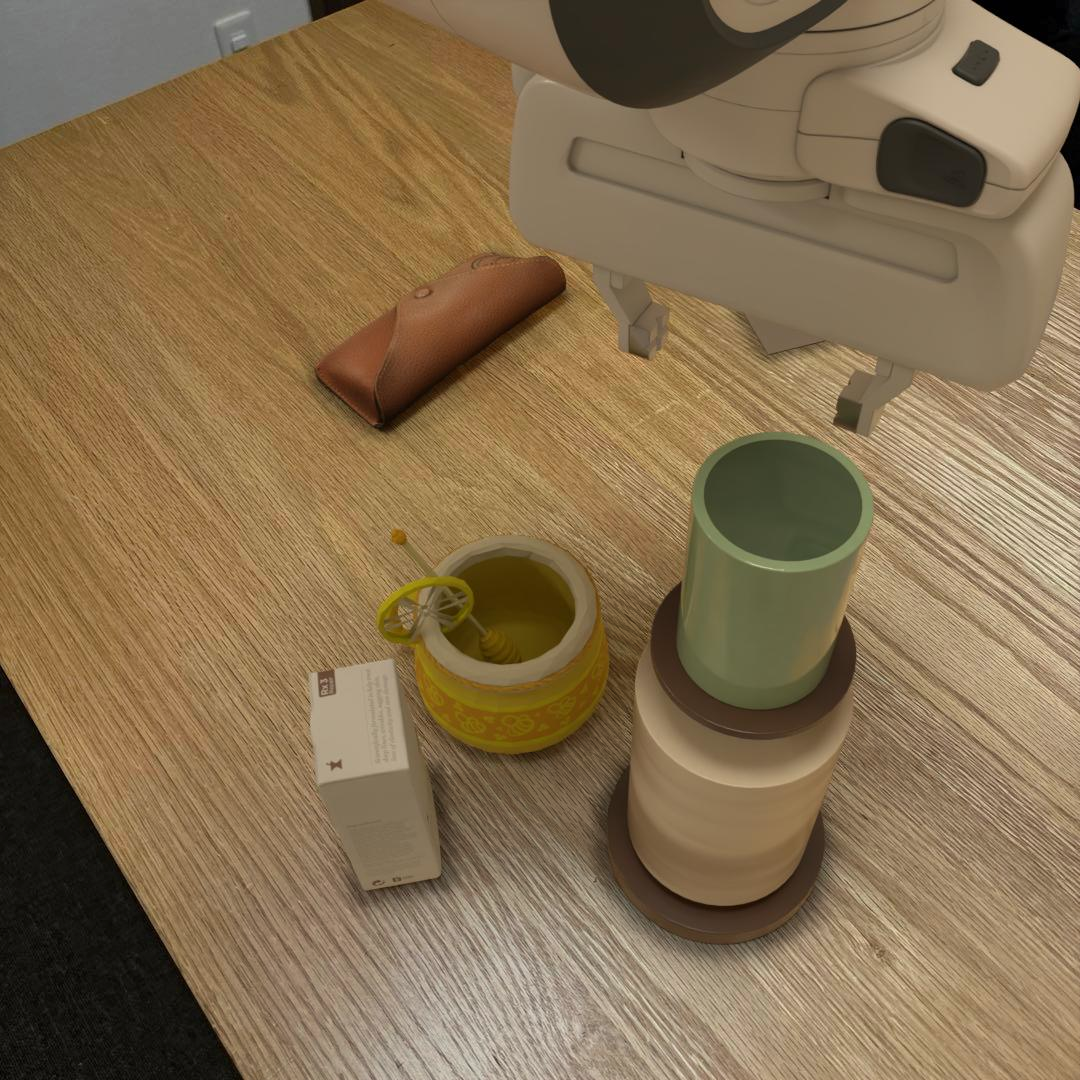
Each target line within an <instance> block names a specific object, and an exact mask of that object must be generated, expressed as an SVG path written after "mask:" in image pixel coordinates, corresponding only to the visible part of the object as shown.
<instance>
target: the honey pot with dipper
mask: <svg viewBox="0 0 1080 1080" xmlns="http://www.w3.org/2000/svg"><path fill="white" fill-rule="evenodd" d="M390 536H391V537H390V540H391V542H392V543H393V544H395V545H399V546H401V547H402V548H403V549H404V550H405V551H406V552H407V554H408V555H409V556H410V557H411V558H412V560H414V561H415V562H416V564H417V565H418V566H419V567H420V569H421V570H422V571H423V572H424V573H425V574H426V575H425V576H424V577H423V578H419V579H416V580H413V581H411V582H409V583H407V584H405V585H404V586H401V587H400V588H398V589H397V590H395V591H393V592H391V594H390V595H388V596H387V597H386V599H385V600H384V601H383V602H382V603H381V605H379V608H378V610H377V612H376V615H375V622H376V623H375V624H376V626H377V629H378V632H379V634H380V635H381V636H382V637H383V639H384V640H386V641H387V642H389V643H392V644H398V645H404V646H407V647H409V648H412V649H414V650H413V653H414V654H413V655H414V672H415V673H414V674H415V679H416V683H417V687H418V691H419V695H420V697H421V699H422V701H423V705H424V707H425V708H426V709H427V711H428V712H429V714H430V715H431V717H432V718H433V720H434V721H435V722H436V723H437V724H438V725H439V726H440V727H442V728H443V729H444V730H445V731H446V732H447V733H448V734H449V735H450V736H452V737H453V738H455V739H457V740H458V741H460V742H462V743H464V744H465V745H467V746H470V747H473V748H476V749H479V750H481V751H484V752H486V753H493V754H504V755H505V754H506V755H517V754H519V755H520V754H526V753H531V752H538V751H541V750H543V749H546V748H548V747H550V746H554V745H555V744H558V743H560V742H562V741H563V740H565V739H566V738H568V737H569V736H570V735H572V734H573V733H575V732H576V731H578V730H579V728H580V727H582V725H583V724H584V723H585V722H587V720H588V719H590V717H591V716H592V715H593V714H594V712H595V711H596V708H597V707H598V705H599V703H600V701H601V700H602V698H603V696H604V694H605V689H606V685H607V681H608V677H609V671H610V649H609V644H608V640H607V639H608V638H607V634H606V629H605V626H604V620H603V616H602V602H601V598H600V597H601V596H600V595H599V592H598V591H599V590H598V588H597V586H596V582H595V580H594V578H593V577H592V573H591V572H590V571H589V569H588V568H587V567H586V566H585V565H584V563H582V562H581V560H580V559H579V558H577V557H575V556H574V555H573V554H572V553H570V552H568V550H567V549H565V548H564V547H561V546H560V545H559V544H557V543H554V542H552V541H550V540H546V539H543V538H540V537H535V536H531V535H523V534H512V533H506V534H504V533H501V534H496V535H491V536H490V535H489V536H486V537H481V538H478V539H475V540H472V541H468V542H466V543H464V544H462V545H459V546H458V547H456V548H454V549H453V550H450V551H449V552H448V554H446V555H444V556H443V557H442V558H441V559H440V560H439V561H438V562H437V563H435V564H434V566H433V567H432V568H431V566H430V565H429V564H428V563H427V562H426V561H425V559H424V558H423V557H422V556H421V555H420V554H419V553H418V552H417V550H416V549H415V548H414V547H413V546H412V544H411V543H410V542H409V541H408V539H407V538H408V537H407V534H406V532H405V531H404V530H403V529H399V528H393V529H392V530H391V531H390ZM400 607H403V608H406V609H410V610H412V611H408V612H405V613H402V614H399V609H400ZM412 613H413V614H412ZM410 614H412V618H410V619H407V620H403V621H401V618H404V617H405V616H408V615H410ZM409 622H412V626H411V627H410V629H408V628H406V627H404V625H406V624H407V623H409Z"/></svg>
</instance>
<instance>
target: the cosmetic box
mask: <svg viewBox="0 0 1080 1080" xmlns="http://www.w3.org/2000/svg"><path fill="white" fill-rule="evenodd" d="M397 668H398V667H397V665H396V661H395V659H394V658H393V657H391V658H386V659H382V660H376V661H370V662H365V663H359V664H354V665H348V666H343V667H338V668H332V669H326V670H321V671H316V672H315V671H314V672H310V673H309V674H308V691H309V702H310V703H309V704H310V705H309V706H310V718H309V728H310V730H309V731H310V736H311V737H310V738H311V741H312V750H313V763H314V773H315V774H314V775H315V787H316V789H317V791H318V794H319V795H320V798H321V800H322V802H323V804H324V807H325V809H326V811H327V813H328V815H329V817H330V820H331V822H332V823H333V826H334V827H335V830H336V832H337V835H338V837H339V838H340V842H341V843H342V846H343V849H344V851H345V852H346V856H347V858H348V859H349V861H350V864H351V866H352V869H353V871H354V874H355V876H356V877H357V880H358V881H359V882H358V883H359V885H360V886H361V888H362V890H364V891H371V890H377V889H382V888H390V887H394V886H399V885H400V886H401V885H406V884H411V883H416V882H421V881H427V880H433V879H438V878H439V877H440V876H441V874H442V856H441V845H440V843H441V842H440V835H439V834H440V832H439V825H438V818H437V811H436V806H435V798H434V792H433V788H432V784H431V778H430V774H429V770H428V766H427V763H426V759H425V756H424V753H423V750H422V747H421V742H420V740H419V737H418V733H417V729H416V725H415V722H414V718H413V715H412V712H411V709H410V705H409V703H408V699H407V695H406V692H405V690H404V687H403V684H402V681H401V679H400V678H401V677H400V675H399V672H398V669H397Z"/></svg>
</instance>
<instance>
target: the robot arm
mask: <svg viewBox="0 0 1080 1080" xmlns="http://www.w3.org/2000/svg"><path fill="white" fill-rule="evenodd" d="M375 2H378V3H380V4H383V5H384V6H386V7H389V8H391V9H393V10H395V11H398V12H400V13H402V14H404V15H406V16H408V17H410V18H412V19H415V20H417V21H419V22H421V23H424V24H425V25H428V26H430V27H432V28H435V29H437V30H439V31H441V32H443V33H445V34H448V35H450V36H452V37H454V38H456V39H458V40H461V41H462V42H465V43H467V44H470V45H472V46H474V47H476V48H478V49H481V50H482V51H485V52H488V53H490V54H491V55H494V56H496V57H498V58H500V59H503V60H505V61H507V62H509V63H510V65H511V67H510V68H511V82H512V88H513V91H514V94H515V98H516V100H517V104H516V107H515V111H514V112H515V113H514V118H513V124H512V133H511V141H510V142H511V143H510V152H509V168H508V211H509V212H508V214H509V215H510V219H511V220H512V222H513V224H514V225H515V227H516V228H517V230H518V231H519V233H520V235H521V236H522V237H523V239H524V240H525V241H526V242H527V243H528V244H530V245H531V246H534V247H537V248H540V249H543V250H546V251H549V252H553V253H556V254H559V255H562V256H564V257H568V258H572V259H574V260H577V261H581V262H584V263H587V264H589V265H592V282H593V284H594V286H595V288H596V289H597V290H598V292H599V294H600V295H601V297H602V299H603V301H604V303H605V304H606V306H607V308H608V309H609V311H610V312H611V315H612V316H613V318H614V320H615V321H618V323H617V327H618V328H617V331H618V333H617V334H618V338H617V348H618V350H619V351H620V352H623V353H625V354H629V355H632V356H633V357H637V358H640V359H644V360H646V361H649V362H652V361H654V359H655V358H656V357H657V352H660V351H661V350H663V348H664V346H665V345H666V342H667V341H668V337H669V327H668V325H667V324H668V323H669V321H670V310H671V308H670V307H668V306H665V305H663V304H660V303H657V302H655V301H653V298H652V295H651V294H650V292H649V289H648V286H647V284H646V283H648V284H650V285H654V286H656V287H661V288H664V289H666V290H670V291H673V292H676V293H679V294H682V295H685V296H688V297H691V298H694V299H698V300H701V301H703V302H707V303H709V304H712V305H715V306H719V307H721V308H725V309H728V310H731V311H734V312H737V313H740V314H743V315H744V314H746V315H749V316H752V317H756V318H759V319H762V320H765V321H768V322H771V323H774V324H777V325H780V326H783V327H786V328H789V329H792V330H795V331H799V332H802V333H805V334H808V335H811V336H814V337H817V338H820V339H823V340H825V341H827V342H830V343H832V344H836V345H839V346H842V347H844V348H849V349H851V350H854V351H857V352H860V353H863V354H866V355H870V356H872V357H875V358H877V359H876V364H875V368H874V372H875V374H872V373H869V372H865V371H862V370H859V369H854V371H853V372H852V374H851V375H850V377H849V378H848V382H847V385H845V386H844V387H843V388H842V390H841V391H840V393H839V394H838V396H837V401H836V406H835V411H836V414H835V415H834V416H833V421H832V426H835V427H837V428H840V429H843V430H845V431H848V432H851V433H853V434H857V435H859V436H861V437H864V438H866V439H869V438H870V437H871V435H872V434H873V432H874V431H875V429H876V427H877V425H878V424H879V423H880V420H881V418H882V416H883V413H884V412H885V409H886V405H887V404H888V403H890V401H892V400H893V399H895V398H896V397H898V396H900V395H901V394H902V393H904V391H906V390H908V389H909V388H911V386H912V385H913V383H914V381H915V380H916V378H917V376H918V375H919V373H920V372H921V373H925V374H928V375H931V376H934V377H937V378H940V379H943V380H947V381H949V382H951V383H955V384H958V385H962V386H965V387H967V388H969V389H970V388H971V389H973V390H976V391H979V392H984V393H993V392H997V391H998V390H1000V389H1003V388H1005V387H1007V386H1009V385H1011V384H1013V383H1014V382H1017V381H1019V380H1020V379H1021V378H1022V377H1023V376H1024V375H1025V373H1026V371H1027V370H1028V368H1029V366H1030V364H1031V363H1032V361H1033V359H1034V356H1035V355H1036V353H1037V350H1038V348H1039V345H1040V343H1041V341H1042V339H1043V336H1044V334H1045V332H1046V330H1047V327H1048V324H1049V322H1050V318H1051V315H1052V313H1053V309H1054V308H1055V307H1054V306H1055V303H1056V300H1057V296H1058V293H1059V289H1060V285H1061V281H1062V277H1063V273H1064V269H1065V262H1066V258H1067V254H1068V249H1069V242H1070V236H1071V230H1072V222H1073V215H1074V207H1075V188H1074V181H1073V180H1074V179H1073V176H1072V173H1071V169H1070V167H1069V164H1068V163H1067V161H1066V159H1065V158H1064V156H1063V154H1062V153H1061V150H1062V147H1063V146H1064V144H1065V142H1066V139H1067V138H1068V135H1069V132H1070V130H1071V127H1072V124H1073V122H1074V119H1075V116H1076V113H1077V111H1078V108H1079V104H1080V68H1079V66H1077V65H1076V63H1075V62H1074V61H1072V60H1071V59H1070V58H1068V57H1066V56H1065V55H1064V54H1062V53H1061V52H1059V51H1057V50H1055V49H1054V48H1052V47H1051V46H1048V45H1047V44H1045V43H1043V42H1042V41H1039V40H1038V39H1036V38H1034V37H1032V36H1030V35H1029V34H1027V33H1025V32H1023V31H1022V30H1020V29H1018V28H1017V27H1015V26H1013V25H1012V24H1010V23H1008V22H1007V21H1005V20H1003V19H1001V18H1000V17H999V16H996V15H995V14H994V13H992V12H990V11H988V10H987V9H985V8H984V7H983V6H981V5H980V4H977V3H976V2H974V1H973V0H375Z"/></svg>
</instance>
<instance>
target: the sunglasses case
mask: <svg viewBox="0 0 1080 1080" xmlns="http://www.w3.org/2000/svg"><path fill="white" fill-rule="evenodd" d="M566 290H567V278H566V274H565V271H564V269H563V268H562V266H561V264H559V262H558V261H556V260H555V259H554V258H552V257H551V256H549V255H548V256H547V255H536V256H530V257H518V256H511V255H499V254H495V253H494V252H490V251H487V252H484V253H478V254H476V255H474V256H472V257H469V258H468V259H466V260H464V261H463V262H462V263H459V264H457V265H456V266H454V267H453V268H451V269H449V270H448V271H446V272H444V273H443V274H442V275H440V276H438V277H437V278H435V279H433V280H429V281H427V282H425V283H423V284H421V285H419V286H417V287H416V288H414V289H413V290H411V291H409V293H407V294H405V295H404V296H402V297H401V298H400V299H399V300H398V301H397V302H396V304H395V306H393V307H392V308H391V309H389V310H388V311H386V312H385V313H383V314H381V315H380V316H378V317H377V318H375V319H373V320H372V321H371V322H369V323H368V324H367V325H365V326H363V327H362V328H361V329H360V330H357V331H356V332H354V334H352V335H350V336H349V337H348V338H346V339H345V340H344V341H342V342H341V343H339V344H338V345H337V346H336V347H334V348H333V349H331V350H330V351H329V352H328V353H326V354H325V355H324V356H323V357H321V358H320V359H319V360H318V362H317V363H316V364H314V367H313V369H314V374H315V376H316V378H317V379H318V380H319V381H320V382H321V383H322V384H323V385H324V386H325V387H326V388H327V389H328V390H330V392H331V393H332V394H334V395H335V396H336V397H337V398H338V399H339V400H341V401H342V402H343V403H344V404H345V405H346V406H347V407H349V408H350V409H351V410H352V411H353V412H354V413H356V414H357V415H358V416H359V417H360V418H362V419H363V420H364V421H365V422H366V423H368V424H369V425H370V426H371V427H373V428H382V427H383V426H385V425H387V424H388V423H391V422H392V421H394V420H396V419H397V418H399V417H400V416H401V415H402V414H403V413H405V412H406V411H407V410H408V409H410V408H411V407H412V406H414V405H415V404H416V403H418V402H419V400H421V399H422V398H423V397H424V396H426V395H427V394H428V393H429V392H430V391H432V390H433V389H434V388H435V387H437V386H438V385H439V384H441V383H442V382H443V381H445V380H446V379H447V378H448V377H450V376H451V375H452V374H453V373H454V372H455V371H457V370H458V369H459V368H460V367H462V366H464V365H466V364H467V363H468V362H469V361H471V360H472V359H473V358H475V357H477V356H478V355H479V354H481V353H482V352H483V351H484V350H486V349H487V348H489V346H491V345H493V343H495V342H496V341H498V340H499V339H500V338H502V337H503V336H504V335H506V334H508V333H509V332H510V331H512V330H513V329H514V328H516V327H517V326H518V325H520V324H521V323H523V322H524V321H525V320H527V319H528V318H530V317H531V316H533V315H534V314H535V313H536V312H538V311H539V310H541V309H543V308H544V307H545V306H547V305H548V304H550V303H551V302H552V301H553V300H555V299H556V298H558V297H560V296H561V295H562V294H563V293H564V292H565V291H566Z"/></svg>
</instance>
